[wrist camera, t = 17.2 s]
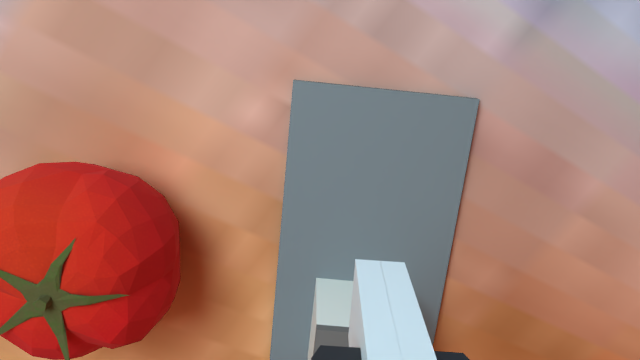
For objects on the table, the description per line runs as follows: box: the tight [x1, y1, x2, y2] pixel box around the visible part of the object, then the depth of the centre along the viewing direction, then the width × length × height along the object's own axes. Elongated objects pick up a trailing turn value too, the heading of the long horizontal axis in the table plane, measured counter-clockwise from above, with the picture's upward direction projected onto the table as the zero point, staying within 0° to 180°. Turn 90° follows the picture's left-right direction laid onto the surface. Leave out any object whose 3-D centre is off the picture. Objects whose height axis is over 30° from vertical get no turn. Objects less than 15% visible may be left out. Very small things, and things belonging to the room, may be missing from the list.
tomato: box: [0, 162, 180, 360], centre depth 31 cm, size 12×13×12 cm
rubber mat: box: [270, 80, 479, 360], centre depth 38 cm, size 13×28×1 cm, turn 174°
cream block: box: [308, 278, 353, 360], centre depth 35 cm, size 7×7×7 cm
